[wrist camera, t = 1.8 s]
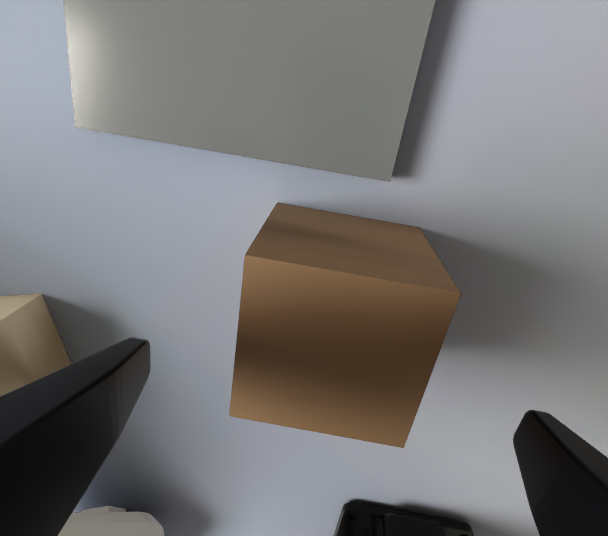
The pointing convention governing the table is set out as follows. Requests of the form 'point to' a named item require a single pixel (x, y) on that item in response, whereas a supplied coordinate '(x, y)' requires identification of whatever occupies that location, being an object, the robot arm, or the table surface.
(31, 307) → the maple cube
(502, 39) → the table surface
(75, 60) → the plate
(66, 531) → the white elongated block
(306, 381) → the walnut cube
